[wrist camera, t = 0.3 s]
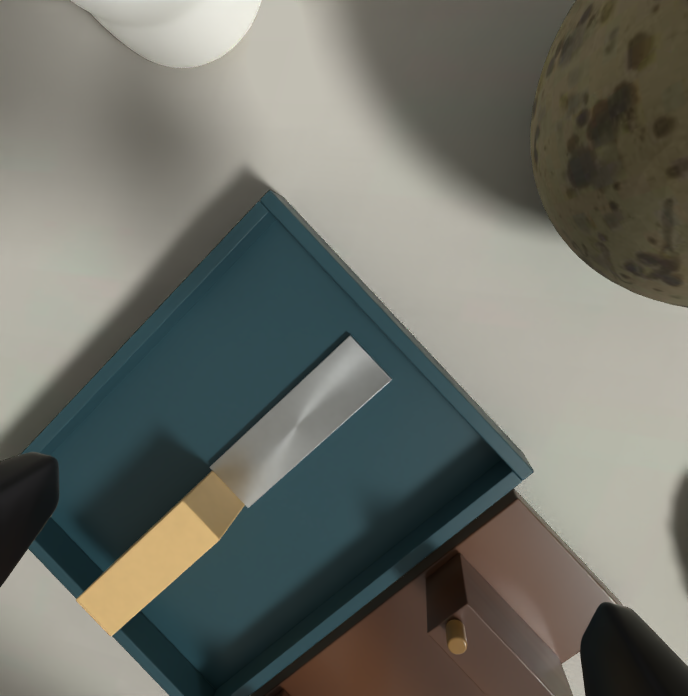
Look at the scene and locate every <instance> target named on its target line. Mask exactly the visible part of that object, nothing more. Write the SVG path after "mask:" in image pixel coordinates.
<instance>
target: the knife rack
mask: <svg viewBox="0 0 688 696" xmlns="http://www.w3.org/2000/svg"><path fill="white" fill-rule="evenodd" d="M603 602H610V603H614V604H617V605H621V606H623V605H622V603H621V602H620V601H619V600H618V599H617V598H616V597H615V596H614V595H613V594H612V593H611V591H610V590H609V589H608V588H607V587H606V586H605V585H604V584H603V583H602V582H601V581H600V580H599V579H598V578H597V577H596V575H595V574H594V573H593V572H592V571H591V570H590V569H589V568H588V567H587V566H586V565H585V564H584V563H583V562H582V561H581V559H580V558H579V557H578V556H577V555H576V554H575V553H574V552H573V551H572V550H571V549H570V548H569V547H568V546H567V545H566V544H565V542H564V541H563V540H562V539H561V538H560V537H559V536H558V535H557V534H556V533H555V532H554V531H553V530H552V529H551V528H550V526H549V525H548V524H547V523H546V522H545V521H544V520H543V519H542V518H541V517H540V516H539V515H538V514H537V513H536V512H535V510H534V509H533V508H532V507H531V506H530V505H529V504H528V503H527V502H526V501H525V500H524V499H523V498H522V497H521V496H520V495H519V493H518V492H517V491H516V490H514V489H513V490H512V491H510V492H509V493H508V494H506V495H505V496H504V497H503V498H501V499H500V500H499V501H498V502H496V503H495V504H494V505H492V506H491V507H490V508H489V509H487V510H486V511H485V512H484V513H482V514H481V515H480V516H478V517H477V518H476V519H475V520H473V521H472V522H471V523H470V524H468V525H467V526H466V527H464V528H463V529H462V530H461V531H459V532H458V533H457V534H456V535H454V536H453V537H452V538H450V539H449V540H448V541H447V542H445V543H444V544H443V545H442V546H440V547H439V548H438V549H436V550H435V551H434V552H433V553H431V554H430V555H429V556H428V557H426V558H425V559H424V560H422V561H421V562H420V563H419V564H417V565H416V566H415V567H414V568H412V569H411V570H410V571H408V572H407V573H406V574H405V575H403V576H402V577H401V578H400V579H398V580H397V581H396V582H394V583H393V584H392V585H391V586H389V587H388V588H387V589H386V590H384V591H383V592H382V593H380V594H379V595H378V596H377V597H375V598H374V599H373V600H372V601H370V602H369V603H368V604H366V605H365V606H364V607H363V608H361V609H360V610H359V611H358V612H356V613H355V614H354V615H352V616H351V617H350V618H349V619H347V620H346V621H345V622H344V623H342V624H341V625H340V626H338V627H337V628H336V629H335V630H333V631H332V632H331V633H330V634H328V635H327V636H326V637H324V638H323V639H322V640H321V641H319V642H318V643H317V644H316V645H314V646H313V647H312V648H310V649H309V650H308V651H307V652H305V653H304V654H303V655H301V656H300V657H299V658H298V659H296V660H295V661H294V662H293V663H291V664H290V665H289V666H287V667H286V668H285V669H284V670H282V671H281V672H280V673H279V674H277V675H276V676H275V677H273V678H272V679H271V680H270V681H268V682H267V683H266V684H265V685H263V686H262V687H261V688H259V689H258V690H257V691H256V692H254V693H253V694H252V695H251V696H573V694H572V691H571V689H570V686H569V683H568V681H567V678H566V675H565V673H564V670H563V667H562V663H564V662H565V661H566V660H568V659H569V658H571V657H572V656H574V655H575V654H577V653H578V652H580V645H581V640H582V637H583V634H584V632H585V631H586V629H587V627H588V625H589V623H590V621H591V619H592V617H593V615H594V613H595V611H596V610H597V608H598V606H599V605H600V604H601V603H603Z"/></svg>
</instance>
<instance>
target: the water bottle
mask: <svg viewBox="0 0 688 696" xmlns="http://www.w3.org/2000/svg"><path fill="white" fill-rule="evenodd" d="M70 1H72V2H73V3H75V4H76V5H78V6H79V7H81V8H83V9H85V10H86V11H88V12H90V13H91V14H92V15H93V16H94V17H95V18H96V20H97V21H98V22H99V23H100V24H102V25H103V26H104V27H105V28H106V29H107V30H108V31H109V32H110V33H111V34H112V35H114V36H115V37H116V38H117V39H118V40H120V41H121V42H122V43H123V44H125V45H126V46H127V47H128V48H130V49H131V50H132V51H134V52H135V53H137V54H138V55H140V56H142V57H143V58H145V59H147V60H149V61H151V62H154V63H157V64H159V65H162V66H167V67H173V68H192V67H197V66H201V65H205V64H208V63H210V62H212V61H214V60H217V59H218V58H220V57H222V56H223V55H225V54H226V53H227V52H229V51H230V50H231V49H232V48H234V47H235V46H236V45H237V44H238V43H239V42H240V40H241V39H242V38H243V37H244V35H245V34H246V33H247V31H248V30H249V28H250V27H251V25H252V23H253V21H254V19H255V17H256V15H257V13H258V10H259V7H260V4H261V0H70Z"/></svg>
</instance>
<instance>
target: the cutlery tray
mask: <svg viewBox="0 0 688 696" xmlns="http://www.w3.org/2000/svg"><path fill="white" fill-rule="evenodd" d="M260 201H261V202H260ZM260 201H258V202H257V203H256V204H255V205H254V206H253V208H252V209H251V210H250V211H249V212H248V213H247V214H246V215H245V216H244V217H243V218H242V219H241V220H240V221H239V222H238V223H237V225H236V226H235V227H234V228H233V229H232V230H231V231H230V232H229V233H228V234H227V235H226V236H225V237H224V238H223V239H222V240H221V242H220V243H219V244H218V245H217V246H216V247H215V248H214V249H213V250H212V251H211V252H210V253H209V254H208V255H207V256H206V258H205V259H204V260H203V261H202V262H201V263H200V264H199V265H198V266H197V267H196V268H195V269H194V270H193V271H192V272H191V273H190V275H189V276H188V277H187V278H186V279H185V280H184V281H183V282H182V283H181V284H180V285H179V286H178V287H177V288H176V289H175V290H174V292H173V293H172V294H171V295H170V296H169V297H168V298H167V299H166V300H165V301H164V302H163V303H162V304H161V305H160V306H159V308H158V309H157V310H156V311H155V312H154V313H153V314H152V315H151V316H150V317H149V318H148V319H147V320H146V321H145V322H144V323H143V325H142V326H141V327H140V328H139V329H138V330H137V331H136V332H135V333H134V334H133V335H132V336H131V337H130V338H129V339H128V340H127V342H126V343H125V344H124V345H123V346H122V347H121V348H120V349H119V350H118V351H117V352H116V353H115V354H114V355H113V356H112V357H111V359H110V360H109V361H108V362H107V363H106V364H105V365H104V366H103V367H102V368H101V369H100V370H99V371H98V372H97V373H96V375H95V376H94V377H93V378H92V379H91V380H90V381H89V382H88V383H87V384H86V385H85V386H84V387H83V388H82V389H81V390H80V392H79V393H78V394H77V395H76V396H75V397H74V398H73V399H72V400H71V401H70V402H69V403H68V404H67V405H66V406H65V407H64V409H63V410H62V411H61V412H60V413H59V414H58V415H57V416H56V417H55V418H54V419H53V420H52V421H51V422H50V423H49V425H48V426H47V427H46V428H45V429H44V430H43V431H42V432H41V433H40V434H39V435H38V436H37V437H36V438H35V439H34V440H33V442H32V443H31V444H30V445H29V446H28V447H27V448H26V449H25V450H24V451H23V452H22V453H21V454H20V455H22V454H25V453H28V452H37V453H41V454H45V455H49V456H53V457H54V458H56V459H57V461H58V464H59V501H58V504H57V507H56V509H55V511H54V512H53V514H52V515H51V517H50V518H49V520H48V521H47V522H46V524H45V525H44V527H43V528H42V529H41V531H40V532H39V534H38V535H37V537H36V538H35V539H34V541H33V542H32V544H31V545H30V546H29V548H28V549H29V550H30V551H31V552H32V553H33V554H34V555H35V556H36V557H37V558H38V559H39V560H40V561H41V562H42V563H43V564H44V566H45V567H46V568H47V569H48V570H49V571H50V572H51V573H52V574H53V575H54V576H55V577H56V578H57V579H58V580H59V581H60V582H61V583H62V584H63V585H64V586H65V587H66V588H67V589H68V590H69V592H70V593H71V594H72V595H73V596H74V597H75V598H76V599H77V598H78V597H79V596H80V595H81V594H82V593H83V592H84V591H85V590H86V589H87V588H88V587H89V586H90V585H91V584H92V583H93V582H94V581H95V580H96V579H97V578H98V577H99V576H100V575H102V574H103V573H104V572H105V571H106V570H107V569H108V568H109V567H110V566H111V565H112V564H113V563H114V562H115V561H116V560H117V559H118V558H119V557H120V556H121V555H122V554H123V553H124V552H125V551H127V550H128V549H129V548H130V547H131V546H132V545H133V544H134V543H135V542H136V541H137V540H138V539H139V538H140V537H141V536H143V535H144V534H145V533H146V532H147V531H148V530H149V529H150V528H151V527H152V526H153V525H154V524H155V523H156V522H158V521H159V520H160V519H161V518H162V517H163V516H164V515H165V514H166V513H167V512H168V511H169V510H170V509H171V508H173V507H174V506H175V505H176V504H177V503H178V502H179V501H180V500H181V499H182V498H183V497H184V496H185V495H186V494H187V493H189V492H190V491H191V490H192V489H193V488H194V487H195V486H196V485H197V484H198V483H199V482H200V481H201V480H202V479H204V478H205V477H206V476H207V475H208V474H209V473H210V472H211V471H212V470H211V469H210V466H211V465H212V464H213V463H214V462H215V461H216V460H217V459H219V458H220V457H221V456H222V455H223V454H224V453H225V452H226V451H227V450H228V449H229V448H230V447H231V446H232V445H233V444H235V443H236V442H237V441H238V440H239V439H240V438H241V437H242V436H243V435H244V434H245V433H246V432H247V431H248V430H249V429H251V428H252V427H253V426H254V425H255V424H256V423H257V422H258V421H259V420H260V419H261V418H262V417H263V416H264V415H265V414H266V413H268V412H269V411H270V410H271V409H272V408H273V407H274V406H275V405H276V404H277V403H278V402H279V401H280V400H281V399H282V398H284V397H285V396H286V395H287V394H288V393H289V392H290V391H291V390H292V389H293V388H294V387H295V386H296V385H297V384H298V383H300V382H301V381H302V380H303V379H304V378H305V377H306V376H307V375H308V374H309V373H310V372H311V371H312V370H313V369H314V368H316V367H317V366H318V365H319V364H320V363H321V362H322V361H323V360H324V359H325V358H326V357H327V356H328V355H329V354H330V353H332V352H333V351H334V350H335V349H336V348H337V347H338V346H339V345H340V344H341V343H342V342H343V341H344V340H345V339H346V338H347V337H349V336H350V335H352V336H353V337H354V338H355V339H356V340H357V341H358V342H359V343H360V344H361V345H362V346H363V348H364V349H365V350H366V351H367V352H368V353H369V354H370V355H371V356H372V357H373V358H374V359H375V360H376V361H377V362H378V363H379V365H380V366H381V367H382V368H383V369H384V370H385V371H386V372H387V373H388V374H389V375H390V376H391V377H392V380H391V381H390V382H389V383H388V384H387V385H386V386H385V387H383V388H382V389H381V390H380V391H379V392H378V393H377V394H376V395H374V396H373V397H372V398H371V399H370V400H369V401H368V402H367V403H366V404H364V405H363V406H362V407H361V408H360V409H359V410H358V411H357V412H355V413H354V414H353V415H352V416H351V417H350V418H349V419H348V420H346V421H345V422H344V423H343V424H342V425H341V426H340V427H339V428H338V429H336V430H335V431H334V432H333V433H332V434H331V435H330V436H329V437H327V438H326V439H325V440H324V441H323V442H322V443H321V444H320V445H319V446H317V447H316V448H315V449H314V450H313V451H312V452H311V453H310V454H308V455H307V456H306V457H305V458H304V459H303V460H302V461H301V462H300V463H298V464H297V465H296V466H295V467H294V468H293V469H292V470H291V471H289V472H288V473H287V474H286V475H285V476H284V477H283V478H282V479H280V480H279V481H278V482H277V483H276V484H275V485H274V486H273V487H272V488H270V489H269V490H268V491H267V492H266V493H265V494H264V495H263V496H261V497H260V498H259V499H258V500H257V501H256V502H255V503H254V504H253V505H251V506H250V507H249V508H247V506H246V505H245V506H244V507H243V508H242V510H241V511H240V513H239V514H238V515H237V517H236V518H235V520H234V521H233V522H232V524H231V525H230V526H229V528H228V529H227V531H226V532H225V533H224V535H223V536H222V537H221V539H220V540H219V541H218V542H217V543H216V544H215V545H214V546H212V547H211V548H210V549H209V550H208V551H207V552H206V553H205V554H203V555H202V556H201V557H200V558H199V559H198V560H197V561H196V562H194V563H193V564H192V565H191V566H190V567H189V568H188V569H187V570H185V571H184V572H183V573H182V574H181V575H180V576H179V577H178V578H177V579H175V580H174V581H173V582H172V583H171V584H170V585H169V586H168V587H166V588H165V589H164V590H163V591H162V592H161V593H160V594H159V595H157V596H156V597H155V598H154V599H153V600H152V601H151V602H150V603H148V604H147V605H146V606H145V607H144V608H143V609H142V610H141V611H139V612H138V613H137V614H136V615H135V616H134V617H133V618H132V619H130V620H129V621H128V622H127V623H126V624H125V625H124V626H123V627H121V628H120V629H119V630H118V631H117V632H116V633H115V634H114V635H112V636H113V637H114V638H115V639H116V640H117V641H118V643H119V644H120V645H121V646H122V647H123V648H124V649H125V650H126V651H127V652H128V653H129V654H130V655H131V656H132V657H133V658H134V659H135V660H136V661H137V662H138V663H139V664H140V665H141V666H142V668H143V669H144V670H145V671H146V672H147V673H148V674H149V675H150V676H151V677H152V678H153V679H154V680H155V681H156V682H157V683H158V684H159V685H160V686H161V687H162V688H163V689H164V690H165V691H166V692H167V694H168V695H169V696H250V695H251V694H252V693H254V692H255V691H256V690H258V689H259V688H260V687H261V686H263V685H264V684H265V683H266V682H268V681H269V680H270V679H272V678H273V677H274V676H275V675H277V674H278V673H279V672H280V671H282V670H283V669H284V668H286V667H287V666H288V665H289V664H291V663H292V662H293V661H294V660H296V659H297V658H298V657H300V656H301V655H302V654H303V653H305V652H306V651H307V650H308V649H310V648H311V647H312V646H314V645H315V644H316V643H317V642H319V641H320V640H321V639H322V638H324V637H325V636H326V635H328V634H329V633H330V632H331V631H333V630H334V629H335V628H336V627H338V626H339V625H340V624H342V623H343V622H344V621H345V620H347V619H348V618H349V617H350V616H352V615H353V614H354V613H356V612H357V611H358V610H359V609H361V608H362V607H363V606H364V605H366V604H367V603H368V602H369V601H371V600H372V599H373V598H375V597H376V596H377V595H378V594H380V593H381V592H382V591H383V590H385V589H386V588H387V587H389V586H390V585H391V584H392V583H394V582H395V581H396V580H397V579H399V578H400V577H401V576H403V575H404V574H405V573H406V572H408V571H409V570H410V569H411V568H413V567H414V566H415V565H417V564H418V563H419V562H420V561H422V560H423V559H424V558H425V557H427V556H428V555H429V554H431V553H432V552H433V551H434V550H436V549H437V548H438V547H439V546H441V545H442V544H443V543H445V542H446V541H447V540H448V539H450V538H451V537H452V536H453V535H455V534H456V533H457V532H459V531H460V530H461V529H462V528H464V527H465V526H466V525H467V524H469V523H470V522H471V521H473V520H474V519H475V518H476V517H478V516H479V515H480V514H481V513H483V512H484V511H485V510H487V509H488V508H489V507H490V506H492V505H493V504H494V503H495V502H497V501H498V500H499V499H501V498H502V497H503V496H504V495H506V494H507V493H508V492H509V491H511V490H512V489H513V488H515V487H516V486H517V485H518V484H520V483H521V482H522V480H524V479H526V478H527V477H528V476H529V475H531V474H532V473H533V472H534V471H533V469H532V467H531V466H530V464H529V462H528V461H527V459H526V457H525V455H524V454H523V452H522V451H521V450H520V449H519V448H518V447H517V446H516V445H515V444H514V443H513V442H512V441H511V440H510V438H509V437H508V436H507V435H506V434H505V433H504V432H503V431H502V430H501V429H500V428H499V427H498V426H497V425H496V424H495V422H494V421H493V420H492V419H491V418H490V417H489V416H488V415H487V414H486V413H485V412H484V411H483V410H482V409H481V408H480V406H479V405H478V404H477V403H476V402H475V401H474V400H473V399H472V398H471V397H470V396H469V395H468V394H467V393H466V392H465V390H464V389H463V388H462V387H461V386H460V385H459V384H458V383H457V382H456V381H455V380H454V379H453V378H452V377H451V376H450V374H449V373H448V372H447V371H446V370H445V369H444V368H443V367H442V366H441V365H440V364H439V363H438V362H437V361H436V360H435V358H434V357H433V356H432V355H431V354H430V353H429V352H428V351H427V350H426V349H425V348H424V347H423V346H422V345H421V344H420V342H419V341H418V340H417V339H416V338H415V337H414V336H413V335H412V334H411V333H410V332H409V331H408V330H407V329H406V328H405V326H404V325H403V324H402V323H401V322H400V321H399V320H398V319H397V318H396V317H395V316H394V315H393V314H392V313H391V311H390V310H389V309H388V308H387V307H386V306H385V305H384V304H383V303H382V302H381V301H380V300H379V299H378V298H377V297H376V295H375V294H374V293H373V292H372V291H371V290H370V289H369V288H368V287H367V286H366V285H365V284H364V283H363V282H362V281H361V279H360V278H359V277H358V276H357V275H356V274H355V273H354V272H353V271H352V270H351V269H350V268H349V267H348V266H347V265H346V263H345V262H344V261H343V260H342V259H341V258H340V257H339V256H338V255H337V254H336V253H335V252H334V251H333V250H332V249H331V247H330V246H329V245H328V244H327V243H326V242H325V241H324V240H323V239H322V238H321V237H320V236H319V235H318V234H317V233H316V231H315V230H314V229H313V228H312V227H311V226H310V225H309V224H308V223H307V222H306V221H305V220H304V219H303V218H302V217H301V215H300V214H299V213H298V212H297V211H296V210H295V209H294V208H293V207H292V206H291V205H290V204H289V203H288V202H287V201H286V199H285V198H284V197H282V196H280V195H278V194H276V193H275V192H273V191H271V190H269V191H268V192H267V193H266V194H265V195H264V196H263V197H262V198H261V199H260Z"/></svg>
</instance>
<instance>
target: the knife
mask: <svg viewBox="0 0 688 696" xmlns="http://www.w3.org/2000/svg"><path fill="white" fill-rule="evenodd" d="M391 380H392V377H391V376H390V375H389V374H388V373H387V372H386V371H385V370H384V369H383V368H382V367H381V366H380V365H379V363H378V362H377V361H376V360H375V359H374V358H373V357H372V356H371V355H370V354H369V353H368V352H367V351H366V350H365V349H364V348H363V346H362V345H361V344H360V343H359V342H358V341H357V340H356V339H355V338H354V337H353V336H352V335H350V336H349V337H347V338H346V339H345V340H344V341H343V342H342V343H341V344H340V345H339V346H338V347H337V348H336V349H335V350H334V351H333V352H332V353H330V354H329V355H328V356H327V357H326V358H325V359H324V360H323V361H322V362H321V363H320V364H319V365H318V366H317V367H316V368H314V369H313V370H312V371H311V372H310V373H309V374H308V375H307V376H306V377H305V378H304V379H303V380H302V381H301V382H300V383H298V384H297V385H296V386H295V387H294V388H293V389H292V390H291V391H290V392H289V393H288V394H287V395H286V396H285V397H284V398H282V399H281V400H280V401H279V402H278V403H277V404H276V405H275V406H274V407H273V408H272V409H271V410H270V411H269V412H268V413H266V414H265V415H264V416H263V417H262V418H261V419H260V420H259V421H258V422H257V423H256V424H255V425H254V426H253V427H252V428H251V429H249V430H248V431H247V432H246V433H245V434H244V435H243V436H242V437H241V438H240V439H239V440H238V441H237V442H236V443H235V444H233V445H232V446H231V447H230V448H229V449H228V450H227V451H226V452H225V453H224V454H223V455H222V456H221V457H220V458H219V459H217V460H216V461H215V462H214V463H213V464H212V465H211V466H210V469H211V470H212V471H211V472H210V473H209V474H208V475H207V476H206V477H205V478H204V479H202V480H201V481H200V482H199V483H198V484H197V485H196V486H195V487H194V488H193V489H192V490H191V491H190V492H189V493H187V494H186V495H185V496H184V497H183V498H182V499H181V500H180V501H179V502H178V503H177V504H176V505H175V506H174V507H173V508H171V509H170V510H169V511H168V512H167V513H166V514H165V515H164V516H163V517H162V518H161V519H160V520H159V521H158V522H156V523H155V524H154V525H153V526H152V527H151V528H150V529H149V530H148V531H147V532H146V533H145V534H144V535H143V536H141V537H140V538H139V539H138V540H137V541H136V542H135V543H134V544H133V545H132V546H131V547H130V548H129V549H128V550H127V551H125V552H124V553H123V554H122V555H121V556H120V557H119V558H118V559H117V560H116V561H115V562H114V563H113V564H112V565H111V566H110V567H109V568H108V569H107V570H106V571H105V572H104V573H103V574H102V575H100V576H99V577H98V578H97V579H96V580H95V581H94V582H93V583H92V584H91V585H90V586H89V587H88V588H87V589H86V590H85V591H84V592H83V593H82V594H81V595H80V596H79V597H78V598H77V599H76V601H77V602H78V603H79V604H80V605H81V606H82V607H83V608H84V609H85V610H86V612H87V613H88V614H89V615H90V616H91V617H92V618H93V619H94V620H95V621H96V622H97V623H98V624H99V625H100V626H101V627H102V628H103V629H104V630H105V631H106V632H107V633H108V634H109V635H110V636H112V635H114V634H115V633H116V632H117V631H118V630H119V629H120V628H121V627H123V626H124V625H125V624H126V623H127V622H128V621H129V620H130V619H132V618H133V617H134V616H135V615H136V614H137V613H138V612H139V611H141V610H142V609H143V608H144V607H145V606H146V605H147V604H148V603H150V602H151V601H152V600H153V599H154V598H155V597H156V596H157V595H159V594H160V593H161V592H162V591H163V590H164V589H165V588H166V587H168V586H169V585H170V584H171V583H172V582H173V581H174V580H175V579H177V578H178V577H179V576H180V575H181V574H182V573H183V572H184V571H185V570H187V569H188V568H189V567H190V566H191V565H192V564H193V563H194V562H196V561H197V560H198V559H199V558H200V557H201V556H202V555H203V554H205V553H206V552H207V551H208V550H209V549H210V548H211V547H212V546H214V545H215V544H216V543H217V542H218V541H219V540H220V539H221V537H222V536H223V535H224V533H225V532H226V531H227V529H228V528H229V526H230V525H231V524H232V522H233V521H234V520H235V518H236V517H237V515H238V514H239V513H240V511H241V510H242V508H243V507H244V506H245V505H246V506H247V508H249V507H250V506H251V505H253V504H254V503H255V502H256V501H257V500H258V499H259V498H260V497H261V496H263V495H264V494H265V493H266V492H267V491H268V490H269V489H270V488H272V487H273V486H274V485H275V484H276V483H277V482H278V481H279V480H280V479H282V478H283V477H284V476H285V475H286V474H287V473H288V472H289V471H291V470H292V469H293V468H294V467H295V466H296V465H297V464H298V463H300V462H301V461H302V460H303V459H304V458H305V457H306V456H307V455H308V454H310V453H311V452H312V451H313V450H314V449H315V448H316V447H317V446H319V445H320V444H321V443H322V442H323V441H324V440H325V439H326V438H327V437H329V436H330V435H331V434H332V433H333V432H334V431H335V430H336V429H338V428H339V427H340V426H341V425H342V424H343V423H344V422H345V421H346V420H348V419H349V418H350V417H351V416H352V415H353V414H354V413H355V412H357V411H358V410H359V409H360V408H361V407H362V406H363V405H364V404H366V403H367V402H368V401H369V400H370V399H371V398H372V397H373V396H374V395H376V394H377V393H378V392H379V391H380V390H381V389H382V388H383V387H385V386H386V385H387V384H388V383H389V382H390V381H391Z"/></svg>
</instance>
